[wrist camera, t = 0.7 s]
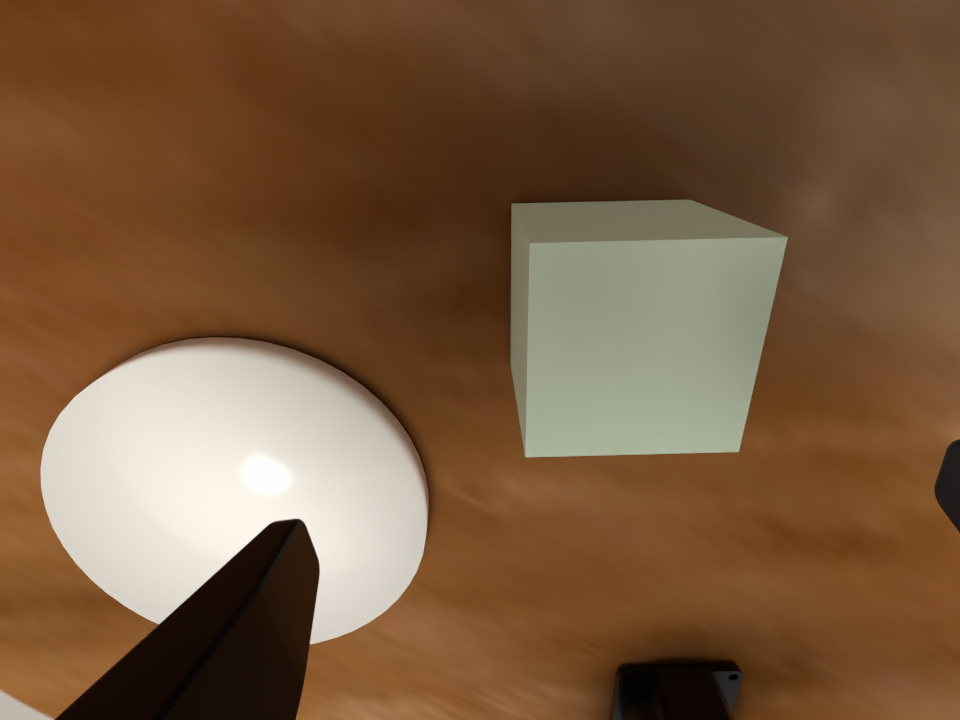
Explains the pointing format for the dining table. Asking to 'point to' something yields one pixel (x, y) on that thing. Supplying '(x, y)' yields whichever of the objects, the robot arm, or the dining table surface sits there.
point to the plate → (234, 477)
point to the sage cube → (637, 325)
